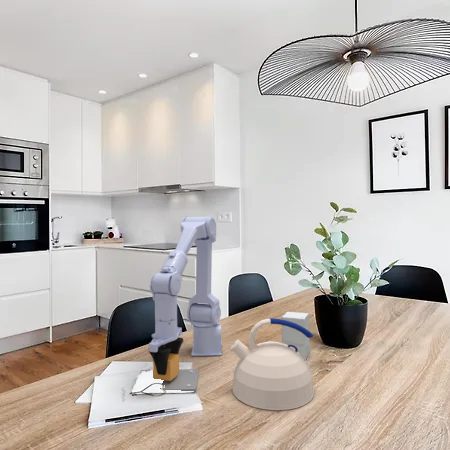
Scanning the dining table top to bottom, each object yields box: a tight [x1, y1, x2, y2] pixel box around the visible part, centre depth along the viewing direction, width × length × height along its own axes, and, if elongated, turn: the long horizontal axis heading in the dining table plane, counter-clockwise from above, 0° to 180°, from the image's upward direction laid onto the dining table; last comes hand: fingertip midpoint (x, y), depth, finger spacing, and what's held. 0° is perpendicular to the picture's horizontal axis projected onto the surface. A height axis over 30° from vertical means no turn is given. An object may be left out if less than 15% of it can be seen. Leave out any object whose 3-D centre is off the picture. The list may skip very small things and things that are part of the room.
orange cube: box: [152, 353, 180, 381], centre depth 95 cm, size 5×5×5 cm
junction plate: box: [140, 368, 200, 393], centre depth 95 cm, size 16×12×4 cm
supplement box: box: [280, 311, 311, 361], centre depth 114 cm, size 7×7×13 cm
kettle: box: [230, 317, 315, 411], centre depth 91 cm, size 20×21×18 cm
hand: (166, 369), depth 95 cm, fingers closed on orange cube, 5 cm apart
